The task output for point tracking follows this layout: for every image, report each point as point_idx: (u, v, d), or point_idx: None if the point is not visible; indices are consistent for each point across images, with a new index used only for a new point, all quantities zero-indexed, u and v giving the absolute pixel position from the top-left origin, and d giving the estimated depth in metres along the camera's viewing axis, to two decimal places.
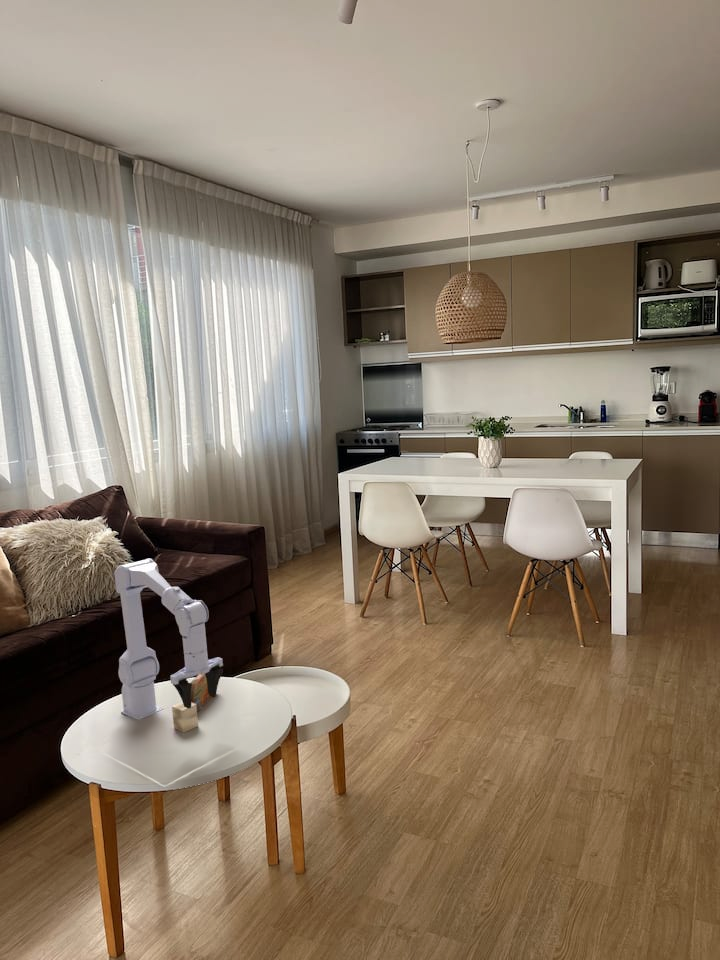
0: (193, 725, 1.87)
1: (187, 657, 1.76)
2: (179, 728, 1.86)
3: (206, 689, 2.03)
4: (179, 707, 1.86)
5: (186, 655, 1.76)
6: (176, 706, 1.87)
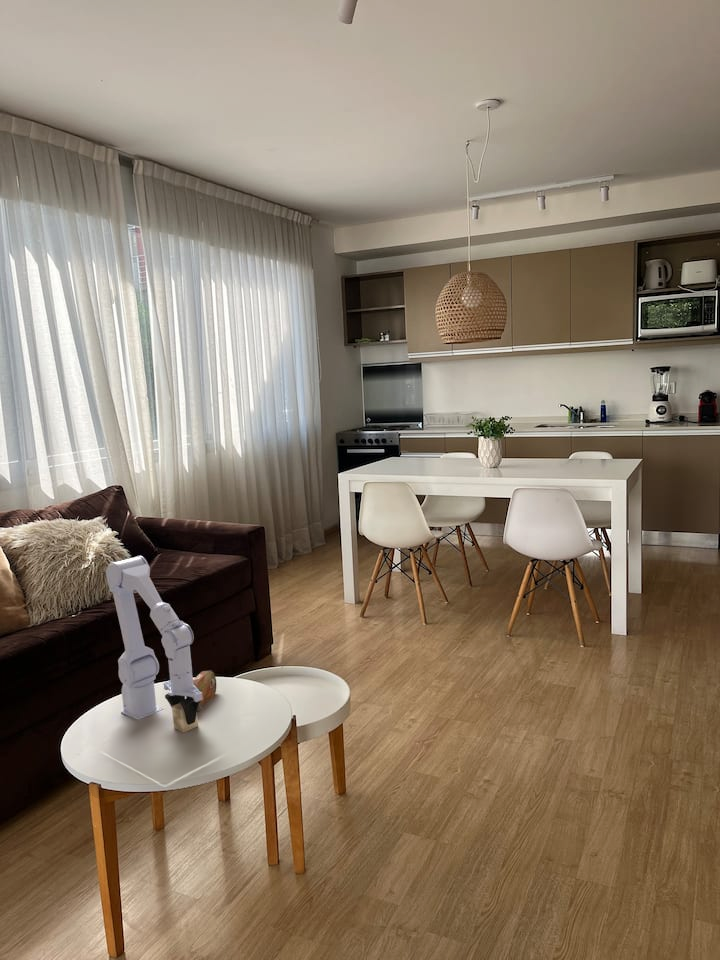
0: (193, 725, 1.87)
1: None
2: (179, 728, 1.86)
3: (206, 689, 2.03)
4: (179, 707, 1.86)
5: None
6: (176, 706, 1.87)
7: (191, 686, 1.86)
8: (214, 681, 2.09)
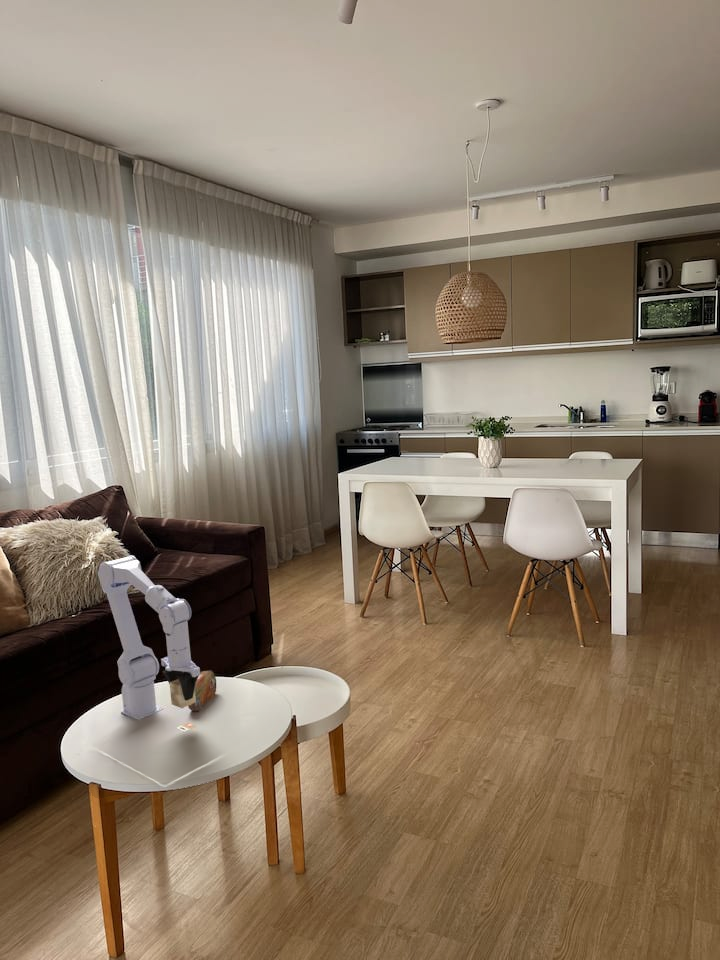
0: (191, 701, 1.86)
1: None
2: (177, 704, 1.85)
3: (206, 689, 2.03)
4: (177, 683, 1.85)
5: None
6: (174, 682, 1.86)
7: (189, 662, 1.85)
8: (214, 681, 2.09)
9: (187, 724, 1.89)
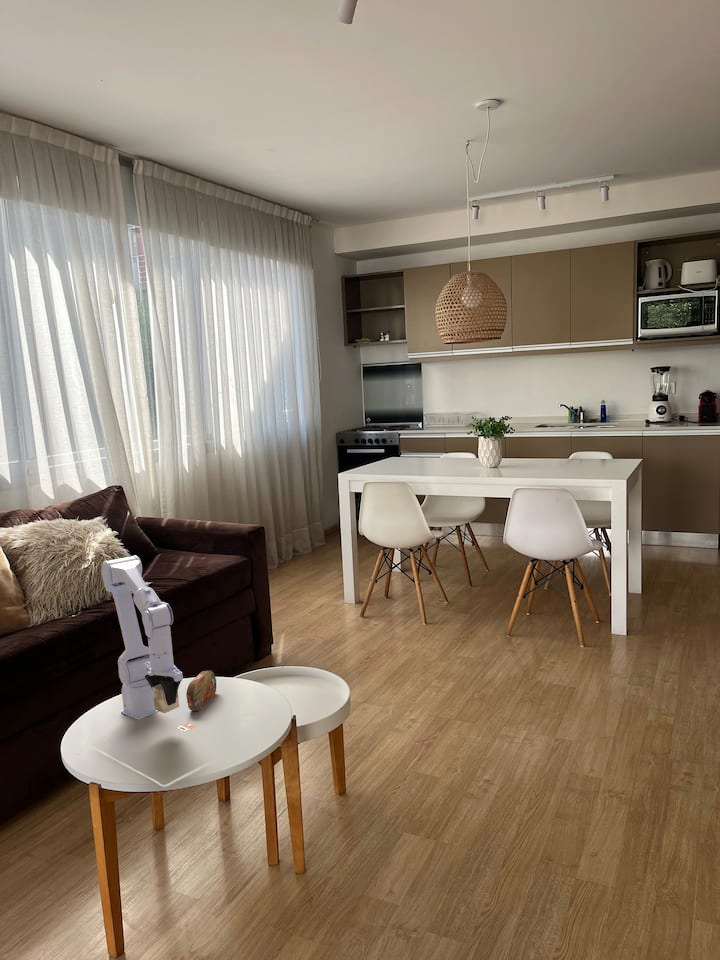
0: (174, 706, 1.84)
1: None
2: (159, 709, 1.83)
3: (206, 689, 2.03)
4: (160, 687, 1.83)
5: None
6: (157, 687, 1.83)
7: (172, 666, 1.83)
8: (214, 681, 2.09)
9: (187, 724, 1.89)
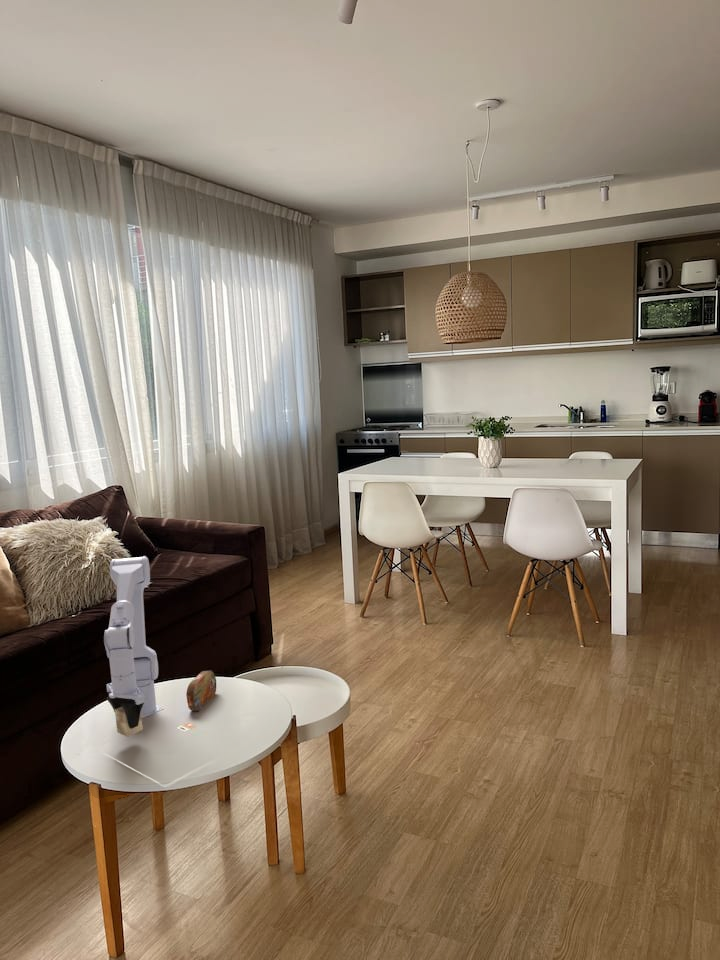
0: (137, 729, 1.79)
1: None
2: (122, 732, 1.78)
3: (206, 689, 2.03)
4: (123, 710, 1.78)
5: None
6: (119, 709, 1.79)
7: (134, 688, 1.78)
8: (214, 681, 2.09)
9: (187, 724, 1.89)
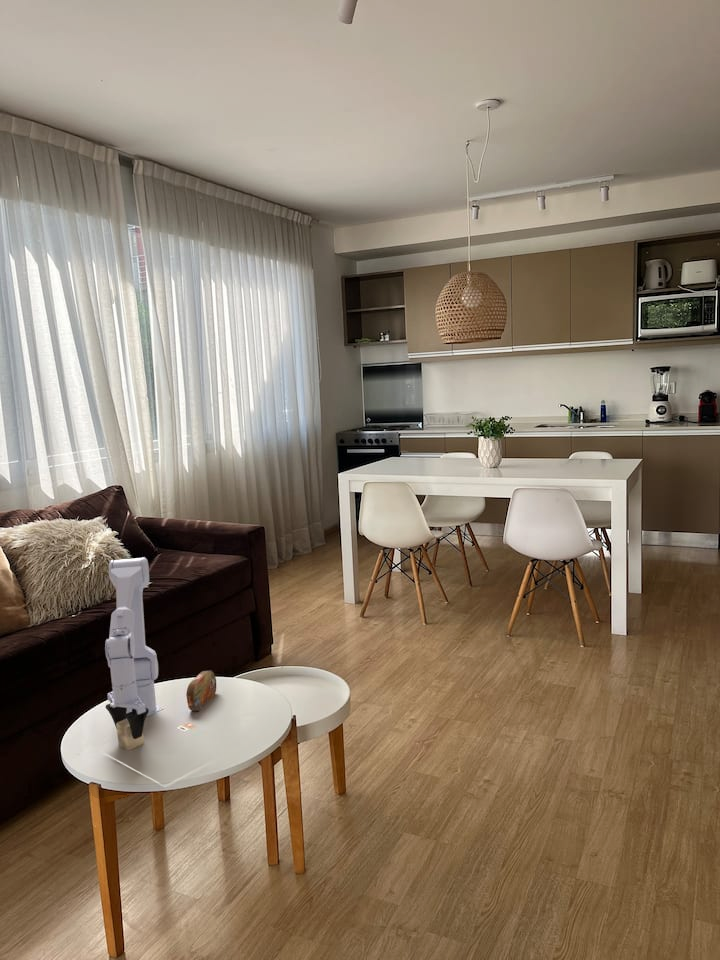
0: (138, 742, 1.79)
1: None
2: (123, 746, 1.78)
3: (206, 689, 2.03)
4: (124, 723, 1.79)
5: None
6: (121, 723, 1.79)
7: (135, 697, 1.78)
8: (214, 681, 2.09)
9: (187, 724, 1.89)
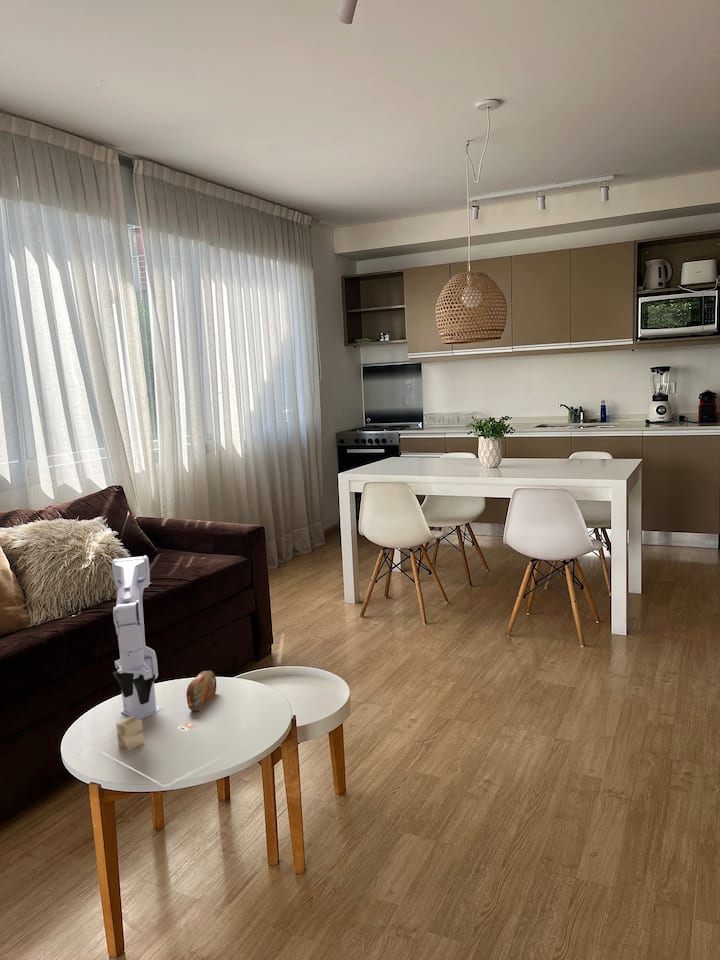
0: (138, 742, 1.79)
1: None
2: (123, 746, 1.78)
3: (206, 689, 2.03)
4: (124, 723, 1.79)
5: None
6: (121, 723, 1.79)
7: (142, 664, 1.81)
8: (214, 681, 2.09)
9: (187, 724, 1.89)
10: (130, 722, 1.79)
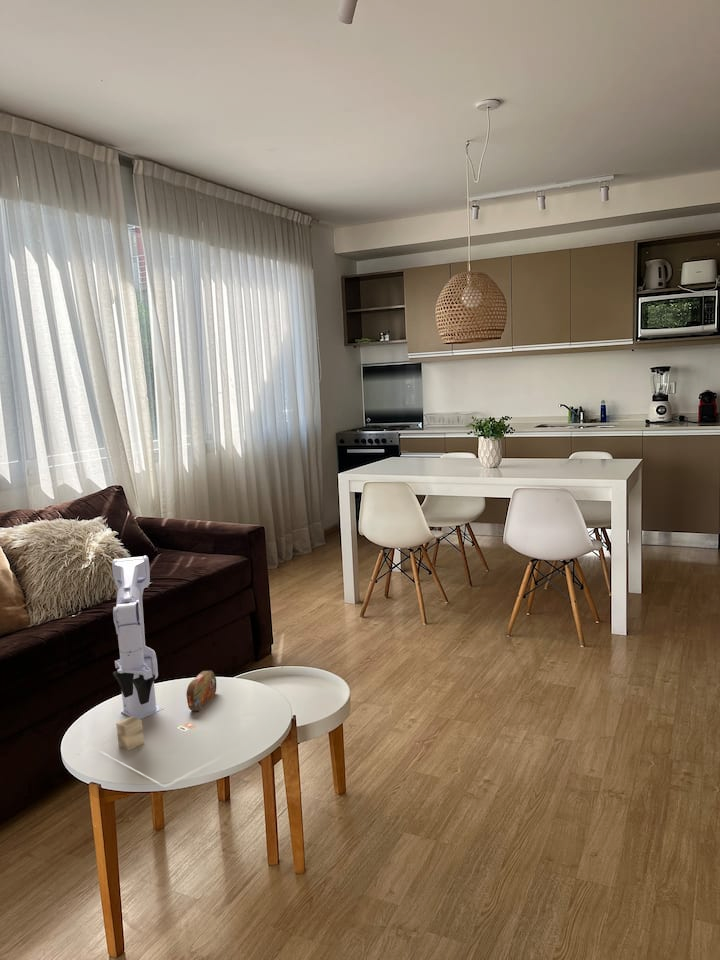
0: (138, 742, 1.79)
1: None
2: (123, 746, 1.78)
3: (206, 689, 2.03)
4: (124, 723, 1.79)
5: None
6: (121, 723, 1.79)
7: (142, 664, 1.81)
8: (214, 681, 2.09)
9: (187, 724, 1.89)
10: (130, 722, 1.79)
